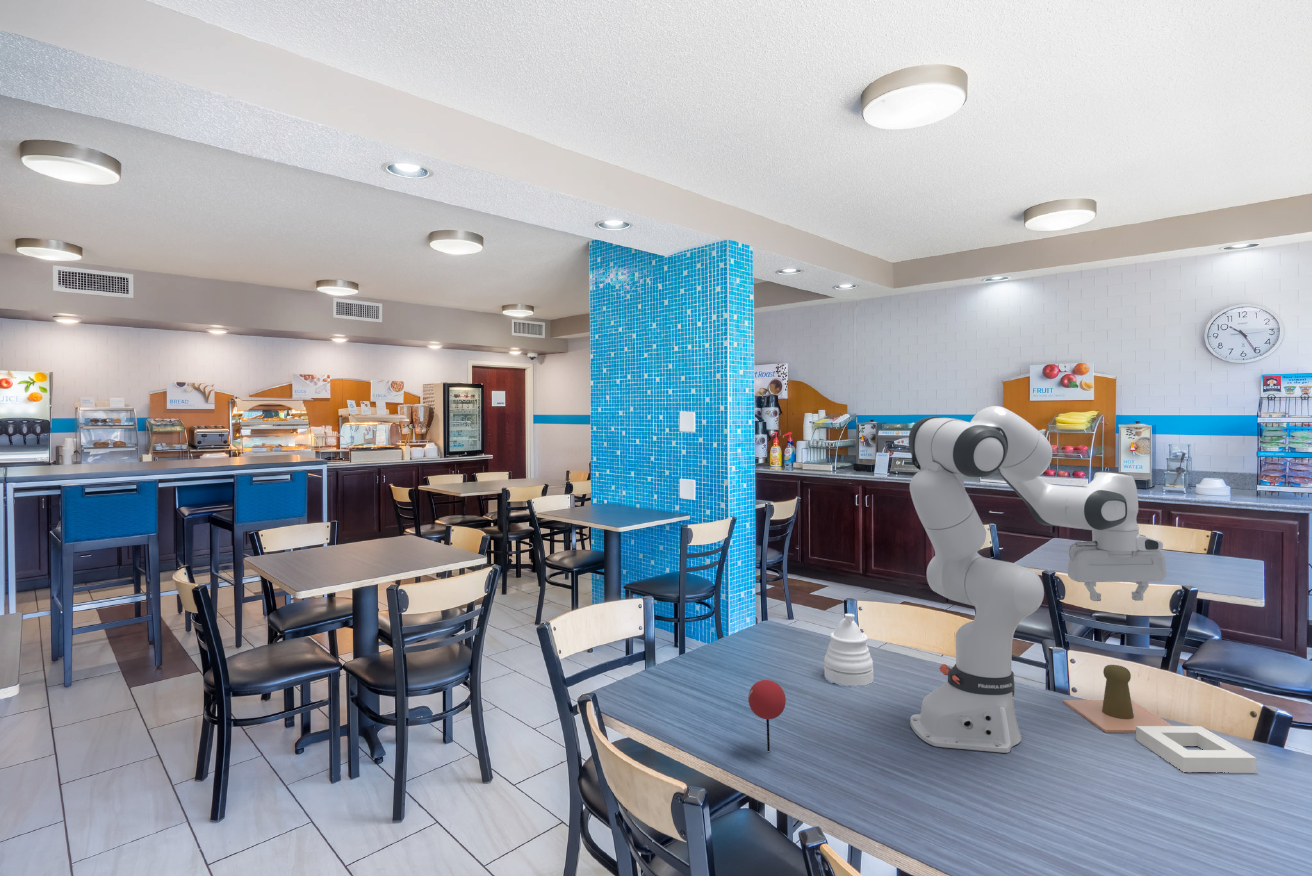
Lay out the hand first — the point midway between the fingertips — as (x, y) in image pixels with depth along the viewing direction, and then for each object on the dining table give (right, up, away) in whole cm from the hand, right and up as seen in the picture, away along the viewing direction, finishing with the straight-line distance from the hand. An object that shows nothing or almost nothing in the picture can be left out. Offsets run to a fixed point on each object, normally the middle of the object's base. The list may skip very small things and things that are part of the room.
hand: (1116, 600), depth 148 cm
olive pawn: (+1, -27, 0) cm, 27 cm away
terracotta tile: (+1, -27, 0) cm, 27 cm away
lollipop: (-83, -29, -13) cm, 89 cm away
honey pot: (-54, -29, +27) cm, 67 cm away
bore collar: (+3, -27, -18) cm, 33 cm away
